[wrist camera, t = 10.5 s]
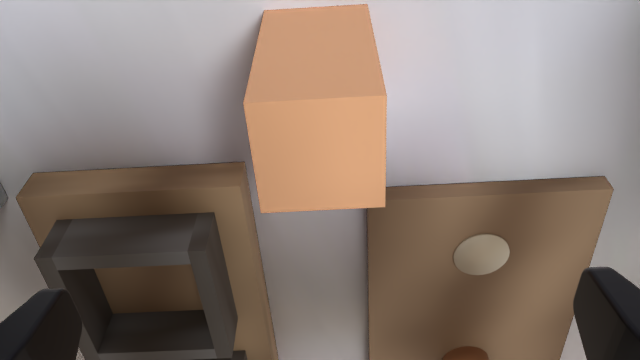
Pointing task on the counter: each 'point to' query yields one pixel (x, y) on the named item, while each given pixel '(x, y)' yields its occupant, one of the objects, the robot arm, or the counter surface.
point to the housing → (2, 196)
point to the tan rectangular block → (317, 111)
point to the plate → (480, 267)
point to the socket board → (155, 260)
